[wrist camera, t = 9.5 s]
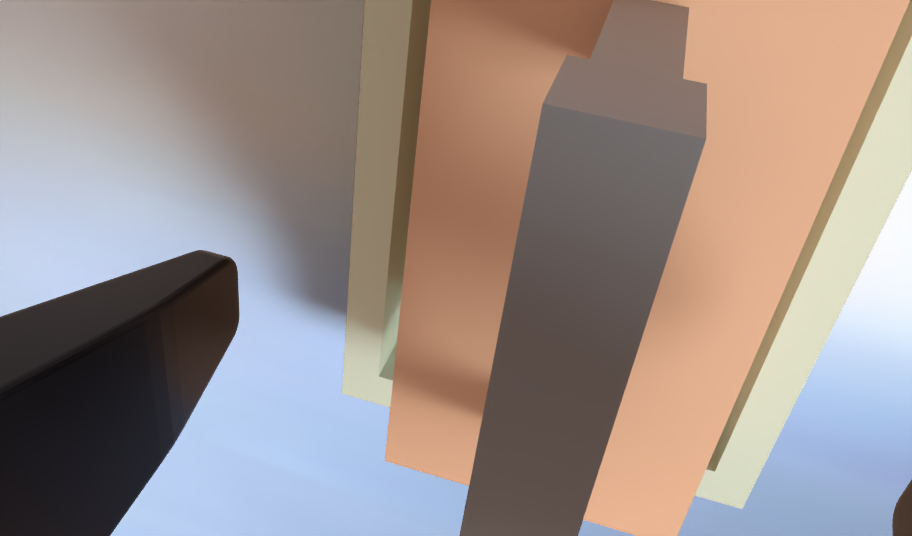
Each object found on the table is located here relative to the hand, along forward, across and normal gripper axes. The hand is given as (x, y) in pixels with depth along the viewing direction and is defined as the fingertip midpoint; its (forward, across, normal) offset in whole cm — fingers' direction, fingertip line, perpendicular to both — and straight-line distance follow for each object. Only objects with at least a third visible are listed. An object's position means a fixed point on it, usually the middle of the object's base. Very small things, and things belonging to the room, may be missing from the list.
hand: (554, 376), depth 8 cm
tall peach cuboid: (+8, 0, 0) cm, 8 cm away
